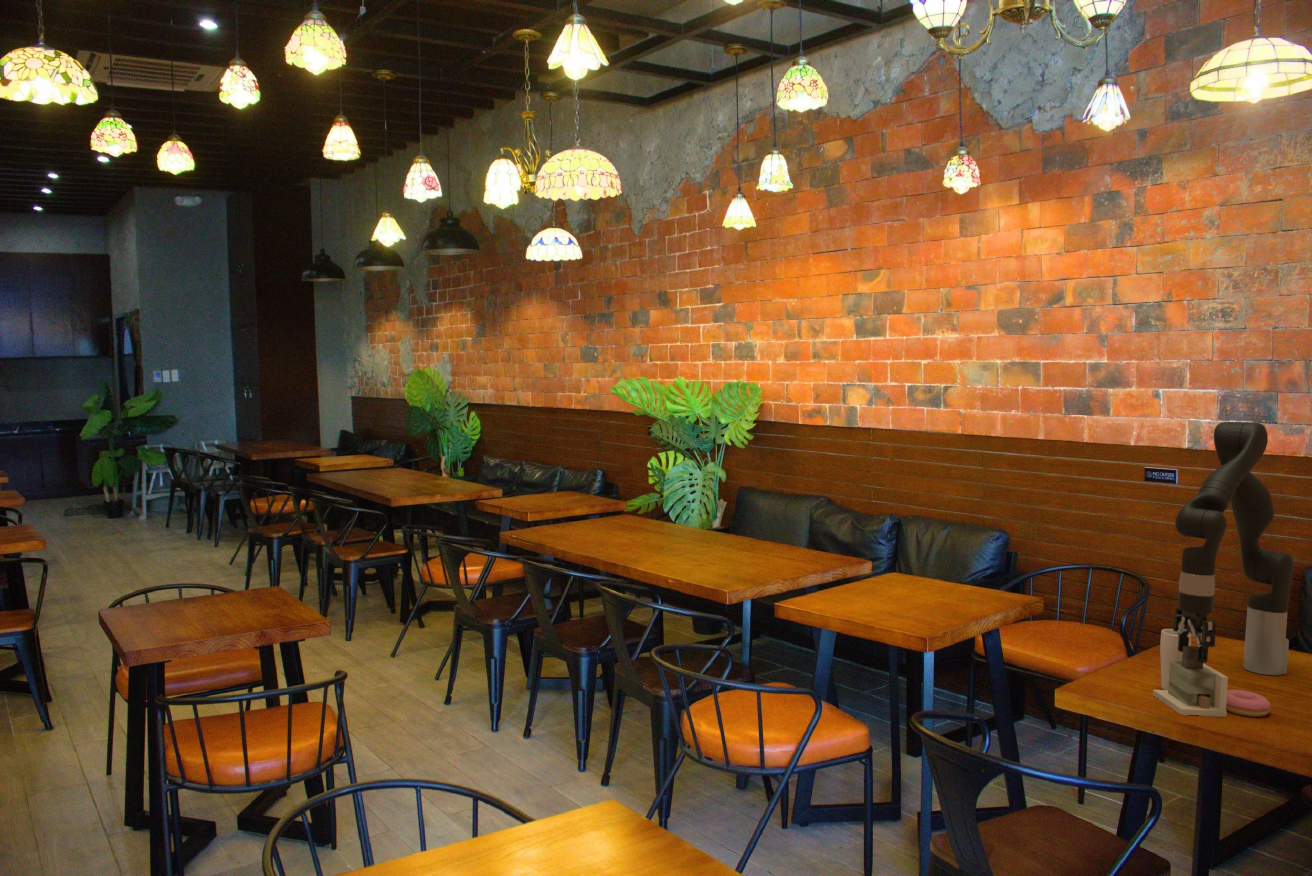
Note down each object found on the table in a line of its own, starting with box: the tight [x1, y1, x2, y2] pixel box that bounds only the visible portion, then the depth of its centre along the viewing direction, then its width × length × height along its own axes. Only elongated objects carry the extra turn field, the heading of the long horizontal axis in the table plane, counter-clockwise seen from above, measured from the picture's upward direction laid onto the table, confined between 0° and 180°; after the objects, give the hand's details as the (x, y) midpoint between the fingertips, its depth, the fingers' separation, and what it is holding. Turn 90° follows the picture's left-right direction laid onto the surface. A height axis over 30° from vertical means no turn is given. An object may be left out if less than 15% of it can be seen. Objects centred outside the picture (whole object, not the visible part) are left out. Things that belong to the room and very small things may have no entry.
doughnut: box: [1226, 688, 1272, 718], centre depth 231 cm, size 11×11×4 cm
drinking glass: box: [1159, 628, 1192, 690], centre depth 244 cm, size 7×7×15 cm
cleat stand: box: [1152, 663, 1229, 718], centre depth 233 cm, size 10×14×10 cm
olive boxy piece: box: [1168, 645, 1215, 707], centre depth 233 cm, size 6×9×13 cm, turn 179°
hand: (1192, 656), depth 232 cm, fingers open, 8 cm apart
